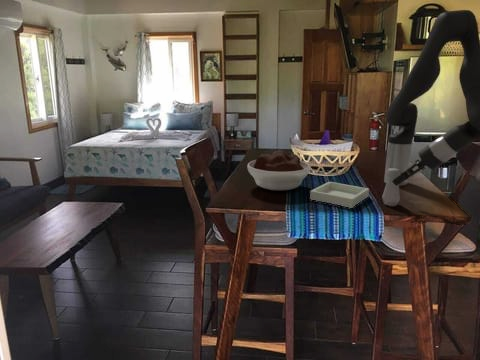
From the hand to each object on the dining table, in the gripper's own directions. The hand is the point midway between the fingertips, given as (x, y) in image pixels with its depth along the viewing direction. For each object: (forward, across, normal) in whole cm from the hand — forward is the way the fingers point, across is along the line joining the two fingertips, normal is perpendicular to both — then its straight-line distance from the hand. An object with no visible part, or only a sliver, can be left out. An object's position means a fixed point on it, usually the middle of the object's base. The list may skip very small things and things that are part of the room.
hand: (397, 180), depth 140 cm
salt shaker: (+8, 0, +5) cm, 9 cm away
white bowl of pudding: (+38, +6, -25) cm, 46 cm away
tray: (+20, +5, -7) cm, 21 cm away
